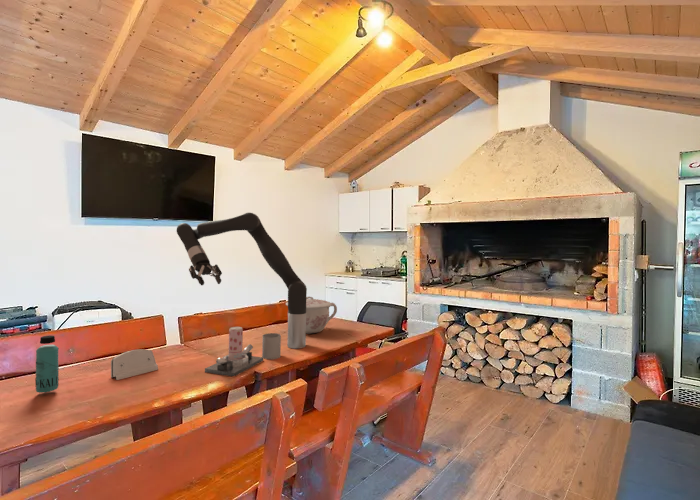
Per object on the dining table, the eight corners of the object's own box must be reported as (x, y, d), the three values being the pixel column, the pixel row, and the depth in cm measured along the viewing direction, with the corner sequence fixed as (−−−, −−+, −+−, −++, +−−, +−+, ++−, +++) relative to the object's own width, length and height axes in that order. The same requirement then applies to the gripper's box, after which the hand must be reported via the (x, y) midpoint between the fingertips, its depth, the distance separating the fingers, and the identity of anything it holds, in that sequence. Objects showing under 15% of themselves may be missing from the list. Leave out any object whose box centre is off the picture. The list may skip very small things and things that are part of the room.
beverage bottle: (43, 389, 140) (43, 333, 139) (63, 389, 140) (63, 333, 140) (30, 397, 133) (30, 338, 132) (51, 397, 134) (51, 338, 133)
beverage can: (234, 365, 166) (235, 330, 165) (225, 362, 169) (226, 328, 168) (244, 362, 170) (245, 327, 170) (235, 359, 173) (236, 325, 173)
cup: (283, 355, 186) (284, 334, 186) (273, 360, 179) (273, 338, 178) (269, 353, 190) (269, 332, 189) (258, 357, 182) (258, 336, 182)
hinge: (115, 380, 150) (112, 354, 152) (110, 381, 153) (107, 355, 155) (159, 369, 164) (155, 345, 165) (153, 370, 166) (150, 347, 168)
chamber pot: (276, 334, 226) (277, 298, 225) (296, 324, 252) (297, 292, 252) (322, 339, 218) (323, 301, 217) (338, 328, 244) (339, 295, 243)
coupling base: (237, 356, 183) (237, 342, 183) (264, 360, 178) (264, 345, 178) (203, 372, 161) (203, 356, 160) (232, 377, 156) (233, 360, 156)
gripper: (187, 252, 181) (200, 279, 174) (215, 251, 192) (228, 277, 185) (181, 263, 184) (193, 290, 178) (208, 262, 196) (221, 287, 189)
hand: (211, 283), depth 181 cm, fingers open, 8 cm apart
